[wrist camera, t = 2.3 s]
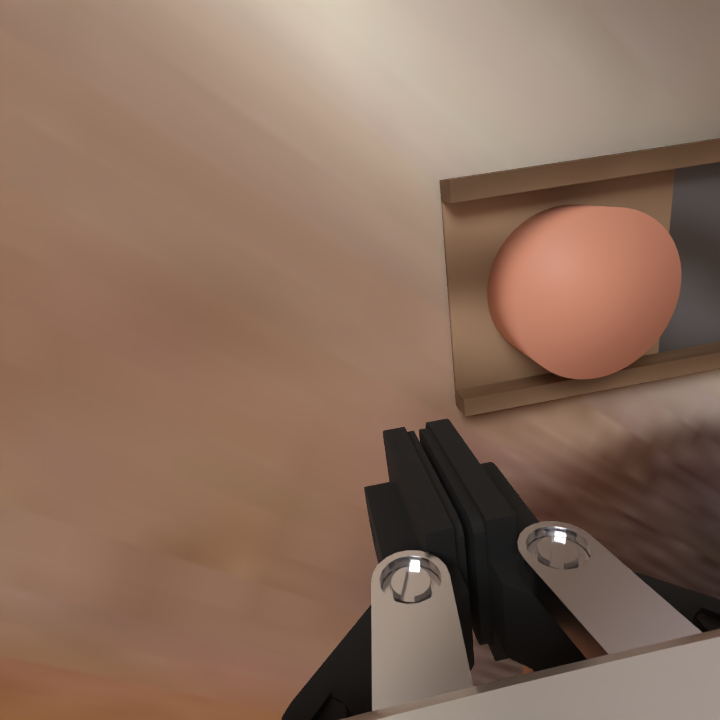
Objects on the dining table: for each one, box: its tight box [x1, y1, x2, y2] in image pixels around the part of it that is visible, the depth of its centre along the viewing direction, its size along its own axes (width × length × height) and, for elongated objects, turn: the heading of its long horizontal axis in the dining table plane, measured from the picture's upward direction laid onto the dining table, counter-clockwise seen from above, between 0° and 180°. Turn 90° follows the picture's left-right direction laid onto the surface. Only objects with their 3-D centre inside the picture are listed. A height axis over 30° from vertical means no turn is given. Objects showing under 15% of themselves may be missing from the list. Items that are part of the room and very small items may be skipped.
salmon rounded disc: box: [487, 204, 681, 379], centre depth 24 cm, size 8×8×4 cm
